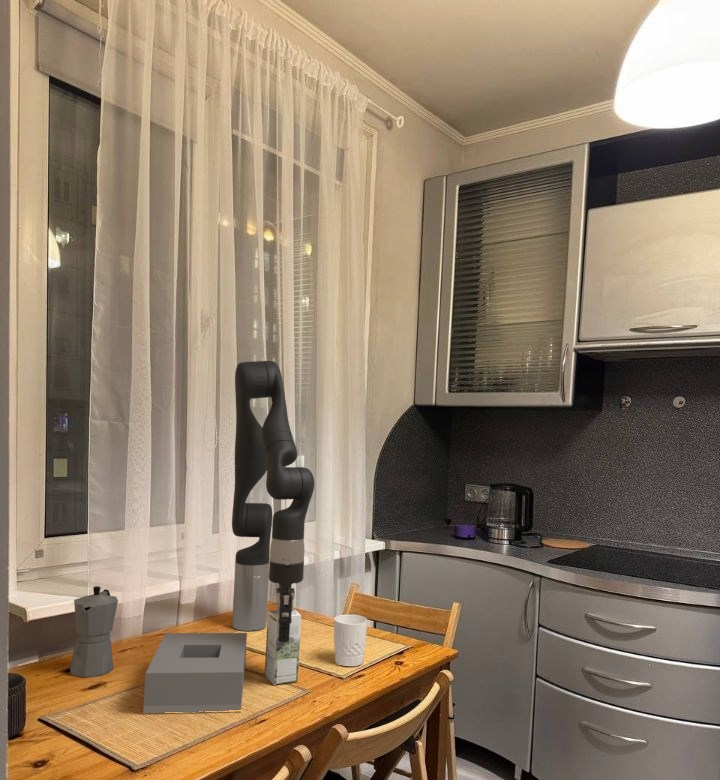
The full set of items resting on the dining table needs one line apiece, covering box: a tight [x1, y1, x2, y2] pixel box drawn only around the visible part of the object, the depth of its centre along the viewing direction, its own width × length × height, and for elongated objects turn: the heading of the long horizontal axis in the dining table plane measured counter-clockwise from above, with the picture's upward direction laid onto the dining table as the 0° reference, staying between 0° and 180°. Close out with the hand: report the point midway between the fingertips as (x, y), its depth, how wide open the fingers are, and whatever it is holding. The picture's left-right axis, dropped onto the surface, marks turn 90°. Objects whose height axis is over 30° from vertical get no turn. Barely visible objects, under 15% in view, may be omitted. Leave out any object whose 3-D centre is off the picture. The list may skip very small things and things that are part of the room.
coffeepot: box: [69, 585, 119, 678], centre depth 144 cm, size 15×9×18 cm, turn 5°
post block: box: [142, 632, 248, 714], centre depth 135 cm, size 24×18×8 cm
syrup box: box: [264, 608, 302, 685], centre depth 142 cm, size 6×6×14 cm
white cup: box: [333, 614, 368, 667], centre depth 154 cm, size 8×8×10 cm
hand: (283, 635), depth 142 cm, fingers closed on syrup box, 7 cm apart
